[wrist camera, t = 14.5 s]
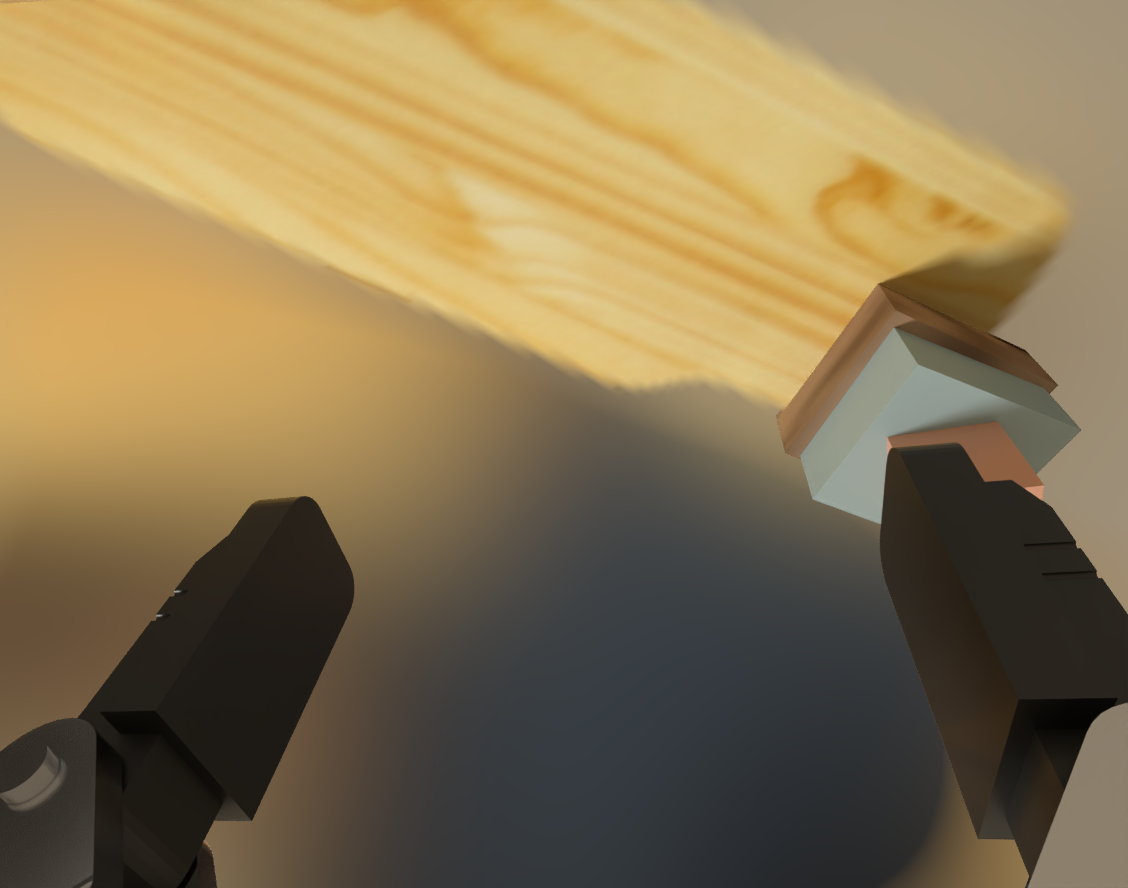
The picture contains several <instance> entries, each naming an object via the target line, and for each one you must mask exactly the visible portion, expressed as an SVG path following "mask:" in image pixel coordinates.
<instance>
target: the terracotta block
mask: <svg viewBox="0 0 1128 888" xmlns="http://www.w3.org/2000/svg"><path fill="white" fill-rule="evenodd" d="M952 442H957V443H959V444H960V445H962V446H963V448H964V449H965V451H966V452H967V454H968V455H969V457H970V459H971V460H972V462H973V464H974V465H975V467H976V468H977V470H978V472H979V473H980V475H981V477H982V478H983V480H984V481H985V482H988V481H1001V480H1013V481H1014V482H1016V483H1017V484H1019V485H1020V486H1022V487H1023V488H1025V489H1026V490H1027V491H1029V492H1030V493H1032V494H1033V495H1035V496H1036V497H1038V498H1039V499H1041V500H1042V497H1043V490H1044V484H1043V483H1042V482H1041V480H1040V479H1039V478H1038V476H1037V475H1036V473H1035V472H1034V471H1033V469H1032V468H1031V466H1030V465H1029V464H1028V462H1027V461H1026V460H1025V458H1024V457H1023V455H1022V454H1021V453H1020V451H1019V450H1018V449H1017V447H1016V446H1015V444H1014V443H1013V442H1012V440H1011V439H1010V438H1009V436H1008V435H1007V433H1006V432H1005V431H1004V429H1003V428H1002V427H1001V425H1000V424H999V423H998V421H996V422H988V423H981V424H974V425H967V426H960V427H953V428H946V429H939V430H932V431H925V432H918V433H911V434H904V435H897V436H890V437H887V456H888V453H889V451H890V449H891V448H894V447H905V446H917V445H929V444H940V443H952Z"/></svg>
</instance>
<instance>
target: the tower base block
mask: <svg viewBox="0 0 1128 888" xmlns="http://www.w3.org/2000/svg"><path fill="white" fill-rule="evenodd" d="M894 327H895V328H897V329H900V330H902V331H905V332H907V333H910V334H912V335H915V336H917V337H920V338H922V339H925V340H927V341H929V342H932V343H934V344H937V345H939V346H942V347H944V348H947V349H949V350H952V351H954V352H957V353H959V354H962V355H964V356H966V357H969V358H971V359H974V360H976V361H979V362H981V363H984V364H986V365H989V366H991V367H994V368H996V369H998V370H1001V371H1003V372H1006V373H1008V374H1011V375H1013V376H1016V377H1018V378H1021V379H1023V380H1026V381H1028V382H1031V383H1033V384H1035V385H1038V386H1040V387H1043V388H1044V389H1045V390H1046V391H1047V392H1048V393H1049V394H1050V393H1051V392H1052V391H1053V390H1054V389H1055V388H1056V387H1057V386H1058V385H1057V384H1056V383H1055V381H1054V380H1053V379H1052V378H1051V377H1050V376H1049V375H1048V374H1047V373H1046V372H1045V371H1044V370H1043V369H1042V367H1041V366H1040V365H1039V364H1038V363H1037V362H1036V361H1035V360H1034V359H1033V358H1032V357H1031V356H1030V355H1029V353H1028V352H1027V351H1026V350H1024V349H1022V348H1020V347H1018V346H1016V345H1014V344H1012V343H1009V342H1007V341H1005V340H1003V339H1001V338H999V337H997V336H994V335H991V336H989V335H987V334H985V333H983V332H981V331H978V330H976V329H974V328H972V327H970V326H968V325H965V324H963V323H961V322H959V321H957V320H955V319H953V318H950V317H948V316H946V315H944V314H942V313H940V312H938V311H935V310H933V309H931V308H929V307H927V306H925V305H922V304H920V303H918V302H916V301H914V300H912V299H910V298H907V297H905V296H903V295H901V294H899V293H897V292H895V291H892V290H890V289H888V288H886V287H884V286H882V285H879V284H877V286H876V287H875V288H874V290H873V291H872V293H871V294H870V295H869V297H868V298H867V299H866V301H865V302H864V303H863V305H862V306H861V307H860V309H859V310H858V312H857V313H856V314H855V316H854V317H853V318H852V320H851V321H850V322H849V324H848V325H847V326H846V328H845V329H844V330H843V332H842V333H841V335H840V336H839V337H838V339H837V340H836V341H835V343H834V344H833V345H832V347H831V348H830V349H829V351H828V352H827V353H826V355H825V356H824V358H823V359H822V360H821V362H820V363H819V364H818V366H817V367H816V368H815V370H814V371H813V372H812V374H811V375H810V376H809V378H808V379H807V381H806V382H805V383H804V385H803V386H802V387H801V389H800V390H799V391H798V393H797V394H796V395H795V397H794V398H793V399H792V401H791V402H790V404H789V405H788V406H787V408H786V409H785V408H783V407H782V408H781V410H780V411H779V412H778V414H777V415H776V419H777V422H778V426H779V430H780V434H781V438H782V442H783V446H784V450H785V453H787V454H789V455H791V456H794V457H796V458H799V459H801V457H800V455H801V454H802V453H803V451H804V450H805V448H806V447H807V446H808V444H809V443H810V442H811V440H812V439H813V437H814V436H815V435H816V433H817V432H818V431H819V429H820V428H821V426H822V425H823V424H824V422H825V421H826V420H827V418H828V417H829V415H830V414H831V413H832V411H833V410H834V409H835V407H836V406H837V405H838V403H839V402H840V400H841V399H842V398H843V396H844V395H845V394H846V392H847V391H848V389H849V388H850V387H851V385H852V384H853V383H854V381H855V380H856V378H857V377H858V376H859V374H860V373H861V372H862V370H863V369H864V367H865V366H866V365H867V363H868V362H869V361H870V359H871V358H872V356H873V355H874V354H875V352H876V351H877V350H878V348H879V347H880V345H881V344H882V343H883V341H884V340H885V339H886V337H887V336H888V334H889V333H890V332H891V330H892V329H893V328H894Z"/></svg>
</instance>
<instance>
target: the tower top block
mask: <svg viewBox="0 0 1128 888" xmlns="http://www.w3.org/2000/svg"><path fill="white" fill-rule="evenodd" d="M996 421H998V423H999V424H1000V425H1001V427H1002V428H1003V429H1004V431H1005V432H1006V433H1007V435H1008V436H1009V438H1010V439H1011V440H1012V442H1013V443H1014V444H1015V446H1016V447H1017V449H1018V450H1019V451H1020V453H1021V454H1022V455H1023V457H1024V458H1025V460H1026V461H1027V462H1028V464H1029V465H1030V466H1031V468H1032V469H1033V471H1034V472H1035V473H1036V474H1037V473H1038V472H1039V471H1040V470H1041V469H1042V468H1043V467H1044V466H1045V465H1046V464H1047V463H1048V462H1049V461H1050V460H1051V459H1052V458H1053V457H1054V456H1055V455H1056V454H1057V453H1058V452H1059V451H1060V450H1061V449H1063V448H1064V447H1065V445H1066V444H1068V443H1069V442H1070V441H1071V439H1073V438H1074V437H1075V436H1076V435H1077V434H1078V433H1079V432H1080V431H1081V429H1080V428H1079V427H1078V425H1077V424H1076V423H1075V422H1074V421H1073V420H1072V419H1071V418H1070V417H1069V415H1068V414H1067V413H1066V412H1065V411H1064V410H1063V409H1062V408H1061V407H1060V405H1059V404H1058V403H1057V402H1056V401H1055V400H1054V399H1053V398H1052V397H1051V396H1050V394H1049V393H1048V392H1047V391H1046V390H1045V389H1044V388H1043V387H1040V386H1038V385H1035V384H1033V383H1031V382H1028V381H1026V380H1023V379H1021V378H1018V377H1016V376H1013V375H1011V374H1008V373H1006V372H1003V371H1001V370H998V369H996V368H994V367H991V366H989V365H986V364H984V363H981V362H979V361H976V360H974V359H971V358H969V357H966V356H964V355H962V354H959V353H957V352H954V351H952V350H949V349H947V348H944V347H942V346H939V345H937V344H934V343H932V342H929V341H927V340H925V339H922V338H920V337H917V336H915V335H912V334H910V333H907V332H905V331H902V330H900V329H897V328H895V327H894V328H893V329H892V330H891V332H890V333H889V334H888V336H887V337H886V339H885V340H884V341H883V343H882V344H881V345H880V347H879V348H878V350H877V351H876V352H875V354H874V355H873V356H872V358H871V359H870V361H869V362H868V363H867V365H866V366H865V367H864V369H863V370H862V372H861V373H860V374H859V376H858V377H857V378H856V380H855V381H854V383H853V384H852V385H851V387H850V388H849V389H848V391H847V392H846V394H845V395H844V396H843V398H842V399H841V400H840V402H839V403H838V405H837V406H836V407H835V409H834V410H833V411H832V413H831V414H830V415H829V417H828V418H827V420H826V421H825V422H824V424H823V425H822V426H821V428H820V429H819V431H818V432H817V433H816V435H815V436H814V437H813V439H812V440H811V442H810V443H809V444H808V446H807V447H806V448H805V450H804V451H803V453H802V454H801V455H800V457H801V461H802V464H803V468H804V471H805V474H806V478H807V481H808V485H809V488H810V492H811V495H812V499H813V500H816V501H819V502H822V503H825V504H827V505H830V506H832V507H835V508H838V509H841V510H843V511H846V512H849V513H851V514H854V515H857V516H860V517H862V518H865V519H868V520H871V521H874V522H876V523H879V524H881V518H882V507H883V495H884V484H885V473H886V462H887V437H890V436H897V435H904V434H911V433H918V432H925V431H932V430H939V429H946V428H953V427H960V426H967V425H974V424H981V423H988V422H996Z"/></svg>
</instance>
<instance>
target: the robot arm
mask: <svg viewBox="0 0 1128 888" xmlns="http://www.w3.org/2000/svg"><path fill="white" fill-rule="evenodd" d="M33 1H46V0H0V4H7V3H20V2H33ZM880 555H881V563H882V569H883V574H884V578H885V582H886V585H887V588H888V591H889V594H890V596H891V599H892V602H893V605H894V608H895V610H896V613H897V616H898V619H899V621H900V624H901V627H902V629H903V632H904V635H905V638H906V641H907V644H908V646H909V649H910V652H911V655H912V657H913V660H914V663H915V666H916V668H917V671H918V674H919V677H920V679H921V682H922V685H923V688H924V690H925V693H926V696H927V699H928V702H929V704H930V707H931V710H932V712H933V716H934V718H935V721H936V724H937V726H938V729H939V732H940V735H941V738H942V741H943V743H944V746H945V749H946V752H947V754H948V757H949V760H950V763H951V765H952V768H953V771H954V774H955V776H956V779H957V782H958V785H959V787H960V790H961V793H962V796H963V799H964V801H965V804H966V807H967V810H968V812H969V815H970V818H971V821H972V824H973V826H974V829H975V832H976V835H977V837H978V839H1011V840H1013V839H1014V840H1015V842H1016V844H1017V847H1018V849H1019V852H1020V854H1021V857H1022V859H1023V862H1024V864H1025V867H1026V869H1027V872H1028V874H1029V878H1028V881H1027V884H1026V886H1025V888H1128V614H1127V613H1126V611H1125V610H1124V608H1123V607H1122V606H1121V604H1120V603H1119V601H1118V600H1117V598H1116V597H1115V596H1114V595H1113V593H1112V592H1111V590H1110V589H1109V587H1108V586H1107V585H1106V583H1105V582H1104V580H1103V579H1102V578H1098V577H1097V574H1096V571H1097V570H1096V569H1095V568H1094V566H1093V565H1092V563H1091V562H1090V560H1089V559H1088V558H1087V556H1086V555H1085V553H1084V552H1083V551H1082V549H1081V548H1079V549H1078V548H1077V547H1076V541H1075V539H1074V538H1073V536H1072V535H1071V534H1070V532H1069V531H1068V529H1067V528H1066V527H1065V525H1064V524H1063V522H1062V521H1061V520H1060V518H1059V517H1058V515H1057V514H1056V513H1055V511H1054V510H1053V508H1052V507H1051V506H1049V505H1048V504H1046V503H1045V502H1044V501H1042V500H1041V499H1039V498H1038V497H1036V496H1035V495H1033V494H1032V493H1030V492H1029V491H1027V490H1026V489H1025V488H1023V487H1022V486H1020V485H1019V484H1017V483H1016V482H1014V481H1013V480H1001V481H988V482H985V481H984V480H983V478H982V477H981V475H980V473H979V472H978V470H977V468H976V467H975V465H974V464H973V462H972V460H971V459H970V457H969V455H968V454H967V452H966V451H965V449H964V448H963V446H962V445H960V444H959V443H957V442H952V443H940V444H929V445H917V446H905V447H894V448H891V449H890V451H889V453H888V456H887V462H886V473H885V484H884V495H883V507H882V518H881V530H880ZM174 592H175V595H174V596H173V597H169V598H168V600H167V601H166V602H165V604H164V605H163V606H162V608H161V609H160V610H159V612H158V613H157V614H156V616H157V619H156V621H151V622H150V623H149V625H148V626H147V627H146V629H145V630H144V631H143V633H142V634H141V635H140V637H139V638H138V639H137V641H136V642H135V643H134V645H133V646H132V647H131V648H130V650H129V651H128V652H127V654H126V655H125V656H124V658H123V659H122V660H121V662H120V663H119V664H118V666H117V667H116V668H115V670H114V671H113V672H112V674H111V675H110V677H109V678H108V679H107V680H106V682H105V683H104V684H103V686H102V687H101V688H100V690H99V691H98V692H97V694H96V695H95V696H94V697H93V699H92V700H91V701H90V703H89V704H88V705H87V707H86V708H85V709H84V711H83V712H82V713H81V714H80V715H79V717H78V718H67V719H61V720H56V721H53V722H50V723H47V724H45V725H42V726H40V727H38V728H36V729H33V730H32V731H30V732H28V733H26V734H25V735H23V736H21V737H20V738H18V739H17V740H15V741H14V742H12V743H11V744H10V745H8V746H7V747H6V748H4V749H3V750H2V751H1V752H0V888H217V880H216V873H215V865H214V858H213V854H212V850H211V849H210V847H209V845H208V844H207V843H206V842H205V841H204V839H205V837H206V835H207V833H208V831H209V829H210V827H211V826H212V824H213V821H214V820H218V821H221V820H222V821H252V820H253V817H254V815H255V813H256V811H257V809H258V806H259V805H260V803H261V800H262V798H263V796H264V794H265V792H266V790H267V787H268V785H269V783H270V781H271V779H272V777H273V775H274V773H275V770H276V768H277V766H278V764H279V762H280V760H281V758H282V755H283V753H284V751H285V749H286V747H287V745H288V742H289V740H290V738H291V736H292V734H293V732H294V730H295V728H296V725H297V723H298V721H299V719H300V717H301V715H302V713H303V710H304V708H305V706H306V704H307V702H308V700H309V698H310V695H311V693H312V691H313V689H314V687H315V685H316V683H317V680H318V678H319V676H320V674H321V672H322V670H323V667H324V665H325V663H326V661H327V659H328V657H329V655H330V653H331V650H332V648H333V646H334V644H335V642H336V640H337V638H338V635H339V633H340V631H341V629H342V627H343V625H344V623H345V621H346V618H347V616H348V614H349V612H350V609H351V607H352V603H353V598H354V579H353V574H352V571H351V568H350V566H349V564H348V562H347V560H346V558H345V556H344V554H343V552H342V551H341V548H340V546H339V544H338V542H337V540H336V538H335V536H334V534H333V533H332V531H331V529H330V527H329V525H328V523H327V521H326V519H325V517H324V515H323V513H322V511H321V509H320V507H319V505H318V504H317V503H316V502H315V501H314V500H313V499H312V498H310V497H306V496H303V497H290V498H278V499H267V500H259V501H256V502H255V503H253V504H252V505H251V506H250V507H249V508H248V510H247V511H246V512H245V514H244V515H243V516H242V518H241V519H240V520H239V522H238V523H237V525H236V526H235V527H234V529H233V530H232V531H231V533H230V534H229V535H228V536H227V537H225V538H224V539H223V540H222V541H221V542H220V543H218V544H217V545H216V546H215V547H213V548H212V549H211V550H210V551H209V552H208V553H206V554H205V555H204V556H203V557H201V558H200V559H199V560H198V561H197V562H196V563H195V564H194V565H193V567H192V568H191V569H190V571H189V572H188V573H187V575H186V576H185V577H184V579H183V580H182V581H181V583H180V584H179V585H178V587H177V588H176V589H175V590H174Z"/></svg>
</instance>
